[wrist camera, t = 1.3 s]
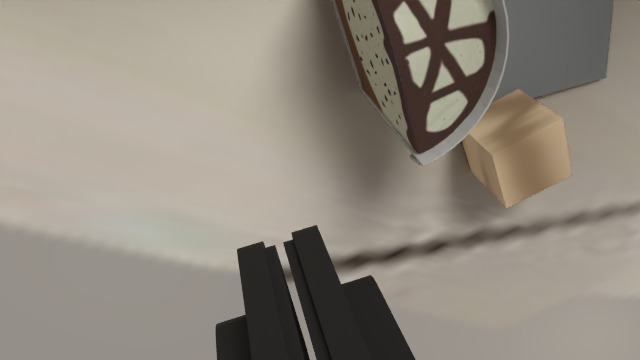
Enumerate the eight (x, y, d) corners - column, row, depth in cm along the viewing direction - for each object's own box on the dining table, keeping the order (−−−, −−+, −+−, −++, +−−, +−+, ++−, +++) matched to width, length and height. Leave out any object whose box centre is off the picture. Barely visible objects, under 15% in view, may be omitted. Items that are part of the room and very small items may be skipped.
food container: (448, 75, 34) (534, 128, 26) (366, 109, 34) (425, 174, 25) (406, -123, 28) (500, -141, 19) (305, -82, 28) (356, -81, 19)
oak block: (518, 88, 35) (563, 118, 31) (529, 141, 38) (571, 175, 34) (455, 121, 36) (491, 154, 31) (471, 171, 38) (506, 208, 34)
